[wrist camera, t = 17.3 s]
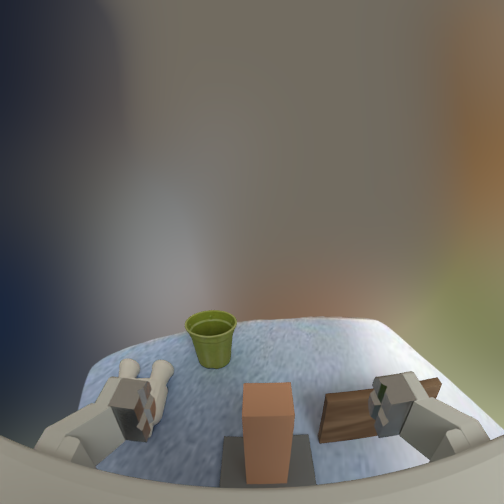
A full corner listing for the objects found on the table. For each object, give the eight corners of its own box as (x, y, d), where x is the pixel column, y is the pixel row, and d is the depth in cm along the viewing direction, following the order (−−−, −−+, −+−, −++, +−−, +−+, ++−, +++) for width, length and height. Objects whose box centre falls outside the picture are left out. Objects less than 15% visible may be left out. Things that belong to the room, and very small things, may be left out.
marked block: (286, 483, 32) (294, 415, 27) (246, 484, 32) (242, 416, 27) (284, 452, 37) (290, 380, 32) (247, 453, 37) (243, 381, 32)
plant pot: (210, 382, 53) (205, 342, 50) (181, 359, 59) (175, 321, 56) (248, 360, 59) (247, 322, 56) (217, 341, 65) (214, 305, 63)
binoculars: (176, 377, 54) (172, 357, 53) (162, 443, 39) (155, 423, 37) (123, 374, 54) (117, 355, 52) (98, 435, 39) (88, 416, 37)
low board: (423, 425, 38) (441, 384, 36) (319, 443, 39) (327, 402, 36) (420, 418, 40) (437, 377, 37) (318, 435, 40) (325, 393, 37)
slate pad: (318, 504, 28) (318, 502, 28) (218, 507, 29) (217, 505, 28) (307, 437, 40) (308, 434, 40) (224, 439, 40) (224, 436, 40)
